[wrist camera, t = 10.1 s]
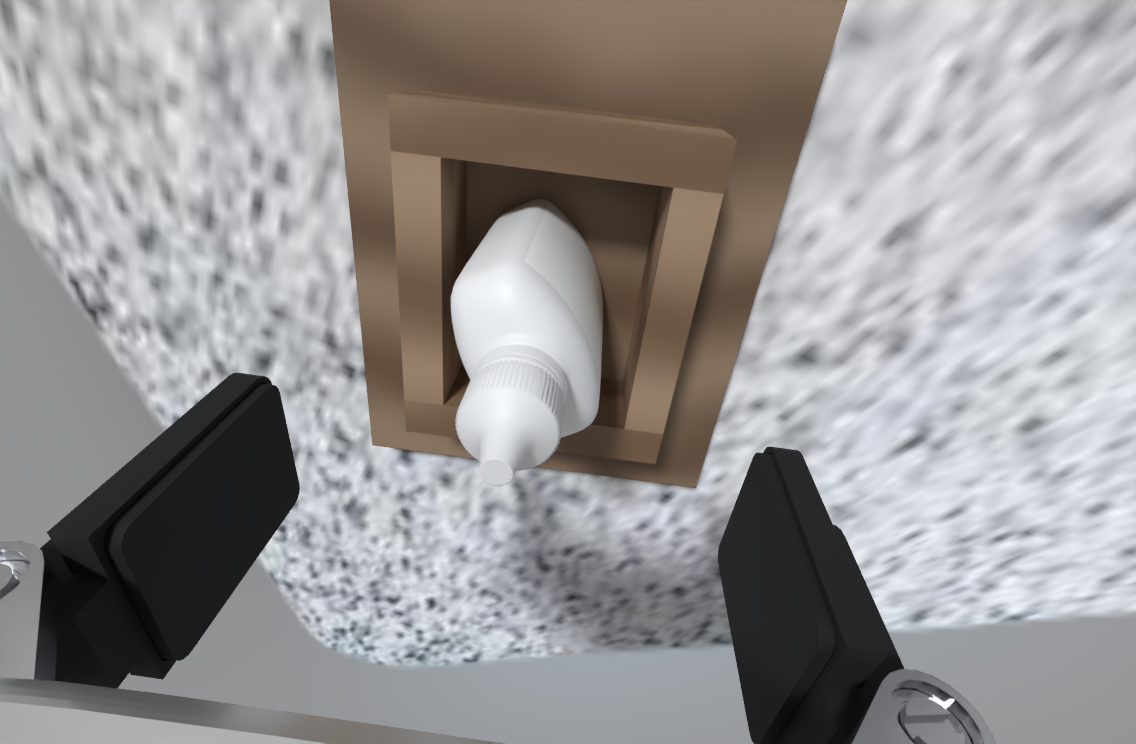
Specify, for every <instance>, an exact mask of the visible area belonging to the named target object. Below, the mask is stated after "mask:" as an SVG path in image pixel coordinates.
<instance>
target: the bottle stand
mask: <svg viewBox="0 0 1136 744" xmlns="http://www.w3.org/2000/svg"><path fill="white" fill-rule="evenodd" d="M329 1H330V12H331V22H332V32H333V43H334V53H335V63H336V74H337V84H338V94H339V105H340V115H341V125H342V136H343V146H344V156H345V167H346V177H347V187H348V198H349V208H350V218H351V229H352V239H353V249H354V260H355V270H356V280H357V291H358V301H359V311H360V322H361V332H362V342H363V353H364V363H365V373H366V384H367V394H368V404H369V415H370V425H371V436H372V445H375V446H383V447H390V448H398V449H406V450H413V451H421V452H428V453H436V454H443V455H451V456H459V457H466V458H474V457H473V456H472V455H471V454H470V453H469V452H468V451H467V450H466V449H465V448H464V447H463V444H462V443H461V441H460V439H459V438H458V437H459V436H458V435H457V430H456V425H455V424H456V421H455V419H456V414H457V410H458V408H459V406H460V403H461V401H462V399H463V396H464V394H465V392H466V389H467V387H468V385H469V382H470V378H469V376H468V374H467V372H466V370H465V367H464V365H463V362H462V360H461V357H460V354H459V351H458V347H457V344H456V340H455V336H454V330H453V324H452V316H451V294H452V291H453V287H454V284H455V282H456V280H457V278H458V277H459V275H460V273H461V272H462V270H463V268H464V267H465V265H466V264H467V262H468V261H469V259H470V258H471V256H472V255H473V253H474V252H475V250H476V249H477V247H478V246H479V244H480V243H481V242H482V240H483V239H484V237H485V236H486V234H487V233H488V231H489V230H490V228H491V227H492V226H493V224H494V223H495V221H496V220H497V219H498V218H499V217H500V216H501V215H502V214H503V213H505V212H507V211H509V210H511V209H514V208H516V207H518V206H520V205H522V204H524V203H527V202H529V201H531V200H534V199H542V198H543V199H545V200H547V201H550V202H551V203H553V204H554V205H555V206H556V207H558V208H559V209H560V210H561V211H562V212H563V213H564V214H565V216H566V217H567V218H568V219H569V220H570V221H571V222H572V224H573V225H574V226H575V227H576V229H577V230H578V232H579V233H580V234H581V236H582V238H583V239H584V241H585V242H586V244H587V246H588V248H589V250H590V252H591V254H592V256H593V259H594V261H595V264H596V267H597V270H598V274H599V278H600V283H601V288H602V295H603V334H602V360H601V383H600V397H599V407H598V411H597V415H596V417H595V419H594V421H593V422H592V424H590V425H589V426H587V427H586V428H585V429H583V430H581V431H579V432H576V433H574V434H571V435H568V436H565V437H562V438H561V439H560V442H559V444H558V448H556V450H555V452H554V453H553V455H552V456H550V458H549V459H547V460H546V461H545V462H542V464H539V465H538V466H535V467H542V468H550V469H557V470H565V471H572V472H580V473H588V474H595V475H603V476H610V477H618V478H626V479H633V480H641V481H648V482H656V483H664V484H671V485H679V486H686V487H694V488H696V484H697V481H698V478H699V475H700V472H701V468H702V465H703V462H704V459H705V456H706V452H707V449H708V446H709V443H710V440H711V436H712V433H713V430H714V427H715V423H716V420H717V417H718V414H719V411H720V407H721V404H722V401H723V398H724V395H725V391H726V388H727V385H728V382H729V379H730V375H731V372H732V369H733V366H734V362H735V359H736V356H737V353H738V350H739V346H740V343H741V340H742V337H743V334H744V330H745V327H746V324H747V321H748V318H749V314H750V311H751V308H752V305H753V301H754V298H755V295H756V292H757V289H758V285H759V282H760V279H761V276H762V273H763V269H764V266H765V263H766V260H767V257H768V253H769V250H770V247H771V244H772V241H773V237H774V234H775V231H776V228H777V224H778V221H779V218H780V215H781V212H782V208H783V205H784V202H785V199H786V196H787V192H788V189H789V186H790V183H791V180H792V176H793V173H794V170H795V167H796V163H797V160H798V157H799V154H800V151H801V147H802V144H803V141H804V138H805V135H806V131H807V128H808V125H809V122H810V119H811V115H812V112H813V109H814V106H815V102H816V99H817V96H818V93H819V90H820V86H821V83H822V80H823V77H824V74H825V70H826V67H827V64H828V61H829V58H830V54H831V51H832V48H833V45H834V42H835V38H836V35H837V32H838V29H839V25H840V22H841V19H842V16H843V13H844V9H845V6H846V3H847V0H329ZM474 459H476V458H474Z"/></svg>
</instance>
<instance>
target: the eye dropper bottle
mask: <svg viewBox="0 0 1136 744" xmlns="http://www.w3.org/2000/svg"><path fill="white" fill-rule="evenodd" d="M451 316H452V324H453V330H454V336H455V340H456V344H457V347H458V351H459V354H460V357H461V360H462V362H463V365H464V367H465V370H466V372H467V374H468V376H469V378H470V382H469V385H468V387H467V389H466V392H465V394H464V396H463V399H462V401H461V403H460V406H459V408H458V410H457V414H456V419H455V421H456V424H455V425H456V430H457V435H458V436H459V437H458V438H459V439H460V441H461V443H462V444H463V447H464V448H465V449H466V450H467V451H468V452H469V453H470V454H471V455H472V456H473V457H474V458H476V459H477V460H479V461H480V463H479V473H480V476H481V477H482V479H483V480H484V481H486V482H487V483H489V484H492V485H504V484H507V483H508V482H510V481H511V479H512V478H513V476H514V474H515V472H516V471H519V470H525V469H529V468H533V467H535V466H538V465H539V464H542V462H545V461H546V460H547V459H549V458H550V456H552V455H553V453H554V452H555V450H556V448H558V444H559V442H560V439H561V438H562V437H565V436H568V435H571V434H574V433H576V432H579V431H581V430H583V429H585V428H586V427H587V426H589V425H590V424H592V422H593V421H594V419H595V417H596V415H597V411H598V407H599V397H600V383H601V360H602V334H603V295H602V288H601V283H600V278H599V274H598V270H597V267H596V264H595V261H594V259H593V256H592V254H591V252H590V250H589V248H588V246H587V244H586V242H585V241H584V239H583V238H582V236H581V234H580V233H579V232H578V230H577V229H576V227H575V226H574V225H573V224H572V222H571V221H570V220H569V219H568V218H567V217H566V216H565V214H564V213H563V212H562V211H561V210H560V209H559V208H558V207H556V206H555V205H554V204H553V203H551V202H550V201H547V200H545V199H543V198H542V199H534V200H531V201H529V202H527V203H524V204H522V205H520V206H518V207H516V208H514V209H511V210H509V211H507V212H505V213H503V214H502V215H501V216H500V217H499V218H498V219H497V220H496V221H495V223H494V224H493V226H492V227H491V228H490V230H489V231H488V233H487V234H486V236H485V237H484V239H483V240H482V242H481V243H480V244H479V246H478V247H477V249H476V250H475V252H474V253H473V255H472V256H471V258H470V259H469V261H468V262H467V264H466V265H465V267H464V268H463V270H462V272H461V273H460V275H459V277H458V278H457V280H456V282H455V284H454V287H453V291H452V294H451Z"/></svg>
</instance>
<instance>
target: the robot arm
mask: <svg viewBox="0 0 1136 744" xmlns="http://www.w3.org/2000/svg"><path fill="white" fill-rule="evenodd" d="M299 489H300V487H299V481H298V476H297V471H296V467H295V462H294V457H293V453H292V448H291V443H290V438H289V434H288V429H287V424H286V420H285V415H284V410H283V405H282V401H281V396H280V392H279V389H278V388H277V386H274V385H272V383H271V381H270V380H269V378H267V377H265V376H257V375H250V374H243V373H233V374H231V375H230V376H228V377H227V378H226V379H225V380H224V381H222V382H221V383H220V384H219V385H218V386H217V387H216V388H214V389H213V390H212V391H211V392H210V393H209V394H207V395H206V396H205V397H204V398H203V399H202V400H200V401H199V402H198V403H197V404H196V405H195V406H193V407H192V408H191V409H190V410H189V411H188V412H186V413H185V414H184V415H183V416H182V417H181V418H179V419H178V420H177V421H176V422H175V423H174V424H172V425H171V426H170V427H169V428H168V429H167V430H165V431H164V432H163V433H162V434H161V435H160V436H158V437H157V438H156V439H155V440H154V441H153V442H151V443H150V444H149V445H148V446H147V447H146V448H145V449H143V451H141V452H140V453H139V454H138V455H136V456H135V457H134V458H133V459H132V460H131V461H129V462H128V463H127V464H126V465H125V466H124V467H122V468H121V469H120V470H119V471H118V472H117V473H115V474H114V475H113V476H112V477H111V478H110V479H108V480H107V481H106V482H105V483H104V484H103V485H101V486H100V487H99V488H98V489H97V490H96V491H95V492H93V493H92V494H91V495H90V496H89V497H88V498H86V499H85V500H84V501H83V502H82V503H81V504H80V505H78V506H77V507H76V508H75V509H74V510H72V511H71V512H70V513H69V514H68V515H67V516H66V517H64V518H63V519H62V520H61V521H60V522H59V523H57V524H56V525H55V526H54V527H53V528H51V529H50V530H49V531H48V532H47V533H48V534H49V536H50V538H51V540H49V541H48V542H47V543H46V544H45V545H44V546H42V547H41V548H40V549H39V548H38V547H37V546H35V545H34V544H31V543H27V542H22V541H8V542H0V744H503V743H495V742H489V741H482V740H476V739H468V738H462V737H455V736H449V735H442V734H435V733H428V732H422V731H415V730H408V729H401V728H395V727H388V726H381V725H374V724H367V723H360V722H353V721H346V720H340V719H333V718H326V717H319V716H313V715H306V714H299V713H291V712H283V711H277V710H270V709H263V708H256V707H249V706H242V705H235V704H228V703H220V702H214V701H206V700H200V699H193V698H186V697H178V696H172V695H165V694H157V693H149V692H141V691H133V690H125V689H119V685H120V684H121V682H122V681H123V680H124V679H125V677H126V676H127V674H129V672H130V674H131V675H137V676H144V677H151V678H158V679H164V677H165V676H166V674H167V673H168V672H169V670H170V669H171V667H172V666H173V665H174V663H175V662H176V660H182V659H184V658H185V657H186V656H188V655H189V653H190V652H191V651H192V650H193V648H194V647H195V645H196V644H197V643H198V641H199V640H200V638H201V637H202V635H203V634H204V633H205V631H206V630H207V628H208V627H209V625H210V624H211V623H212V621H213V620H214V618H215V617H216V616H217V614H218V613H219V611H220V610H221V608H222V607H223V606H224V604H225V603H226V601H227V600H228V598H229V597H230V596H231V594H232V593H233V591H234V590H235V588H236V587H237V586H238V584H239V583H240V581H241V580H242V578H243V577H244V575H245V574H246V573H247V571H248V570H249V569H250V567H251V566H252V564H253V563H254V561H255V560H256V559H257V557H258V556H259V554H260V553H261V551H262V550H263V549H264V547H265V546H266V544H267V543H268V541H269V540H270V539H271V537H272V536H273V534H274V533H275V531H276V530H277V529H278V527H279V526H280V524H281V523H282V522H283V520H284V519H285V517H286V516H287V514H288V513H289V512H290V510H291V509H292V507H293V506H294V504H295V503H296V501H297V498H298V495H299ZM718 564H719V570H720V575H721V581H722V586H723V592H724V597H725V603H726V608H727V613H728V619H729V624H730V630H731V635H732V640H733V646H734V651H735V656H736V662H737V667H738V673H739V678H740V683H741V689H742V694H743V700H744V705H745V711H746V716H747V721H748V727H749V732H750V736H751V739H752V741H753V743H754V744H996V743H995V740H994V737H993V734H992V733H991V731H990V729H989V728H988V726H987V724H986V723H985V721H984V719H983V718H982V716H981V715H980V714H979V713H978V711H977V710H976V709H975V708H974V707H973V706H972V705H971V703H970V702H969V701H968V700H967V699H966V698H964V697H963V696H962V695H961V694H960V693H958V692H957V691H956V690H955V689H954V688H953V687H951V686H950V685H948V684H946V683H945V682H943V681H941V680H940V679H938V678H936V677H934V676H932V675H930V674H927V673H923V672H921V671H918V670H908V669H904V667H903V665H902V663H901V660H900V658H899V656H898V654H897V651H896V649H895V647H894V645H893V642H892V640H891V638H890V636H889V634H888V631H887V629H886V627H885V625H884V622H883V620H882V618H881V616H880V614H879V611H878V609H877V607H876V605H875V602H874V600H873V598H872V596H871V593H870V591H869V589H868V587H867V585H866V582H865V580H864V578H863V576H862V573H861V571H860V569H859V567H858V565H857V562H856V560H855V558H854V556H853V553H852V551H851V549H850V547H849V545H848V542H847V540H846V538H845V536H844V534H843V533H842V531H841V529H839V528H838V527H837V526H836V525H833V524H832V522H831V520H830V518H829V515H828V513H827V511H826V508H825V506H824V504H823V501H822V499H821V497H820V495H819V492H818V490H817V488H816V485H815V483H814V481H813V478H812V476H811V474H810V472H809V469H808V467H807V465H806V462H805V460H804V458H803V456H802V454H801V452H799V451H798V450H791V449H783V448H776V447H767V448H766V449H765V450H764V452H763V453H756V454H755V455H754V457H753V459H752V462H751V464H750V467H749V470H748V472H747V475H746V477H745V480H744V483H743V485H742V488H741V490H740V493H739V496H738V498H737V501H736V503H735V506H734V509H733V511H732V514H731V517H730V519H729V522H728V524H727V527H726V530H725V532H724V535H723V537H722V540H721V543H720V546H719V550H718Z"/></svg>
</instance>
